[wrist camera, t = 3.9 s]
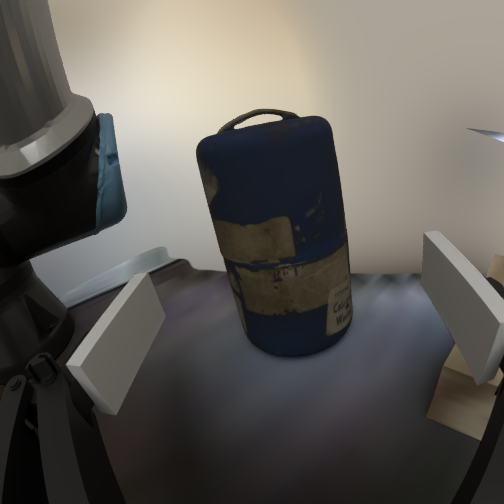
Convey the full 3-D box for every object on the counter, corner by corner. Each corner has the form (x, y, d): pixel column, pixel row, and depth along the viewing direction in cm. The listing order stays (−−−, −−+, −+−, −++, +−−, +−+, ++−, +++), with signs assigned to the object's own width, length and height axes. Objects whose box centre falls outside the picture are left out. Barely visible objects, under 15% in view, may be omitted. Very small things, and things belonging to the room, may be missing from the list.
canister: (244, 310, 31) (194, 127, 24) (335, 287, 31) (305, 103, 24) (251, 378, 22) (175, 125, 15) (371, 346, 22) (346, 91, 15)
